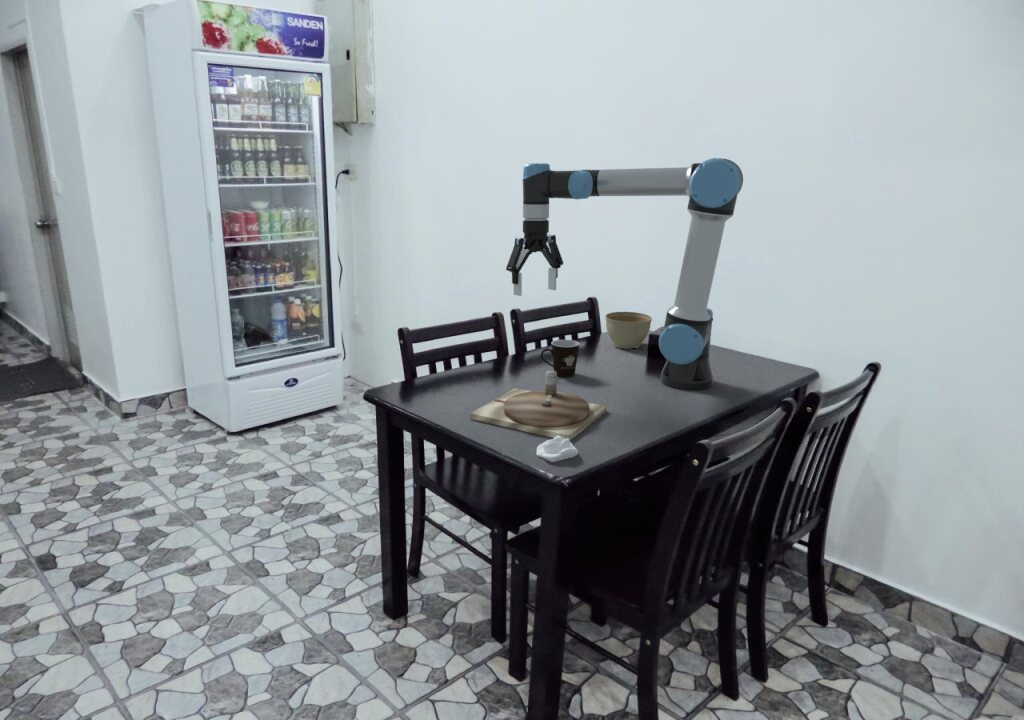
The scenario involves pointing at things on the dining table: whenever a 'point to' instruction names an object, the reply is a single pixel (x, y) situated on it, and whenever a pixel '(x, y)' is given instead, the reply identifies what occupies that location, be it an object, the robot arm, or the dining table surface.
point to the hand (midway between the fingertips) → (535, 292)
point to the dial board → (496, 416)
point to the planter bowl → (627, 328)
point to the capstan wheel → (546, 406)
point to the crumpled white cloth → (556, 449)
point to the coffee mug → (563, 357)
